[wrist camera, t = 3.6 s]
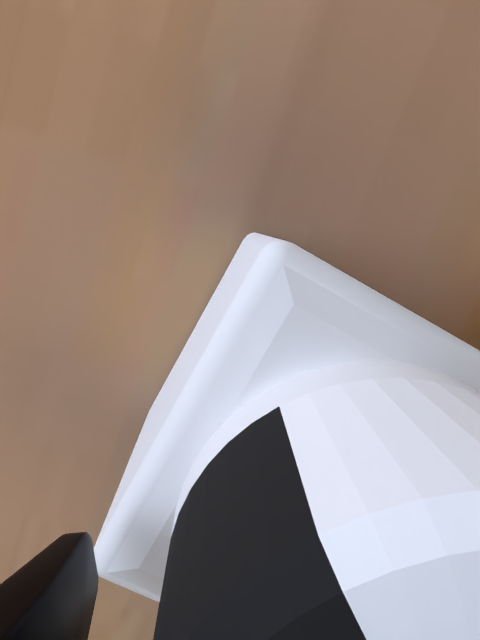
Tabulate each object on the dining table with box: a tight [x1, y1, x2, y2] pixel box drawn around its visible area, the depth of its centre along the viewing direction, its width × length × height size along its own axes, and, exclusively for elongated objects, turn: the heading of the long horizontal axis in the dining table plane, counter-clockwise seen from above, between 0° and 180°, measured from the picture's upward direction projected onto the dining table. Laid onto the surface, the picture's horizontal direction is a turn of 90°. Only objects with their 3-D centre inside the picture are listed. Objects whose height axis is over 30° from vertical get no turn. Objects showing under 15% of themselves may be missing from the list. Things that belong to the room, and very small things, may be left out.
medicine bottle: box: [94, 232, 480, 640], centre depth 9 cm, size 7×7×12 cm
